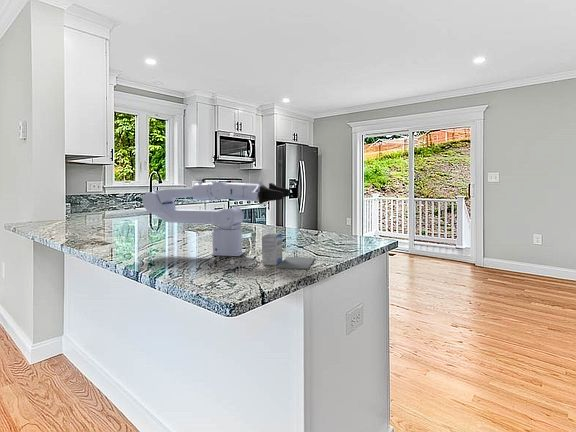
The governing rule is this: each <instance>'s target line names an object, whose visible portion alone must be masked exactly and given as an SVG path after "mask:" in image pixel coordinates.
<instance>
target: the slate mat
mask: <svg viewBox="0 0 576 432" xmlns="http://www.w3.org/2000/svg"><path fill="white" fill-rule="evenodd" d="M315 260H316V257H303V256H286V257H285V258H284V259H282V260H281V261H280V262H279V263H278V265H277V266H276V269H286V270H287V269H288V270H304V269H305V270H307V271H308V270H309V269H310V267H311V266H312V265H313V263H314V261H315ZM305 270H304V271H305Z"/></svg>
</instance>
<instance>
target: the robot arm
mask: <svg viewBox="0 0 576 432" xmlns="http://www.w3.org/2000/svg"><path fill="white" fill-rule="evenodd" d="M290 192H291V189H288V188H285V187H281V186H278V185H277V184H274V183H272V182H270V183H268V187H267V186H266V185H265V184H264V183H263V180H262V179H261V180H258V183H247V182H246V183H245V182H226V181H215V180H212V181H211V182H204V181H198V182H197V183H194V184H193V186H192V187H183V188H182V187H179V188H164V189H158V190H154V191H152V192H151V191H149V192H148V191H147V192H146V193H145V194H143V196H142V206H143V207H144V209H145V210H146V212H147V213H149V214H152V215H155V216H156V217H158V218H159V219H160V220H162V221H164V222H166V223H179V224H208V225H213V226H219V227H216V228H214V229H213V232H212V254H211V256H223V257H226V256H227V257H239V256H242V255H243V254H245V253H246V252H247V250H245V249H243V235H242V232H243V231H242V230H243V229H242V228H243V227H242V223H243V222H244V220H245V214H244V211H243V210H242V209H241V208H240V207H236V206H235V207H231V208H224V209H187V208H185V209H183V208H181V209H180V208H179V209H178V208H177V207H176V204H175V202H176V199H180V198H190V197H191V198H193V199H195V200H196V201H205V200H206V201H207V200H215V199H216V200H218V201H221V200H225V199H226V200H228V199H230V200H234V201H246V202H247V201H249V202H258V204H259V205H261V204H263V203H267V202H271V201H280V200H283V199H284V198H286V197H290V195H291V193H290Z"/></svg>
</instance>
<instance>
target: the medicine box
mask: <svg viewBox="0 0 576 432" xmlns="http://www.w3.org/2000/svg"><path fill="white" fill-rule="evenodd" d="M261 255H262V261H261V262H262V265H263V266H274V267H275V266H276V267H277V266H278V265H279V264H280V263H281V262H282V261H283V235H282V232H269V233H267V234H265V235H263V236H262V237H261Z"/></svg>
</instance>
